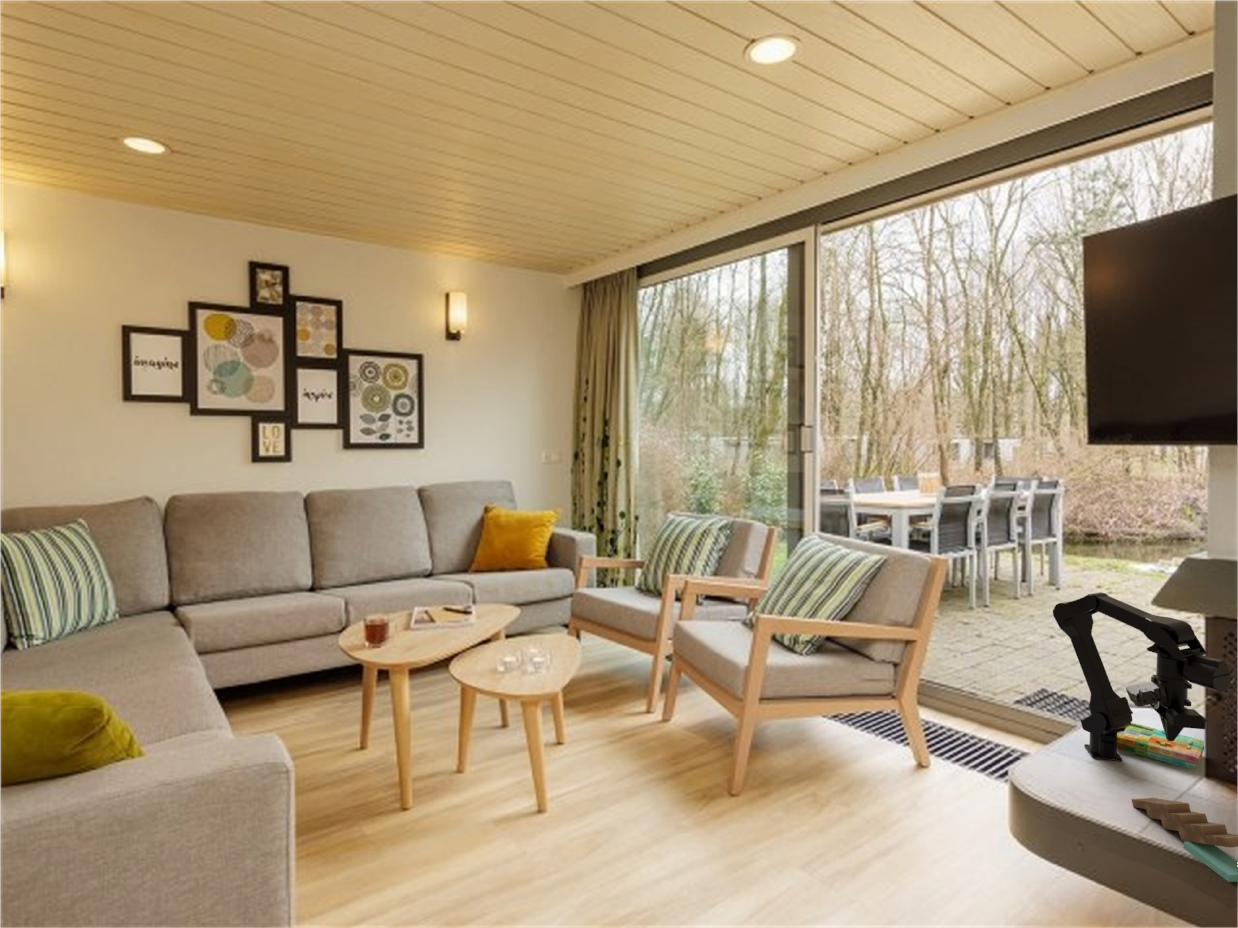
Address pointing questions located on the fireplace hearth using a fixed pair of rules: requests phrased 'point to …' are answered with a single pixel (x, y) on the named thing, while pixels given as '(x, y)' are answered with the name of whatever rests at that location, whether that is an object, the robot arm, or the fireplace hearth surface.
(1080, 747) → the fireplace hearth surface
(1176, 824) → the domino
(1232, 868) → the domino
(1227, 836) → the domino
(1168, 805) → the domino
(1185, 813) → the domino
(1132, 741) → the puzzle game
